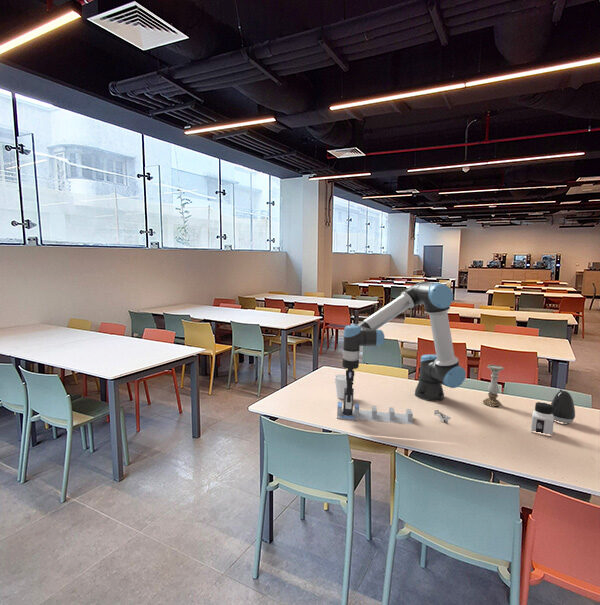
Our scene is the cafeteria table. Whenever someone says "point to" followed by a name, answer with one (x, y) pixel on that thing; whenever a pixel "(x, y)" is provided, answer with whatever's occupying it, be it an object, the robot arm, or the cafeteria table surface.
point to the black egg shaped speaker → (563, 407)
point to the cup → (340, 385)
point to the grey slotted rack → (376, 415)
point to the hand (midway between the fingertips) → (348, 403)
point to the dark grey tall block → (345, 411)
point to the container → (542, 418)
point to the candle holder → (493, 386)
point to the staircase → (442, 416)
